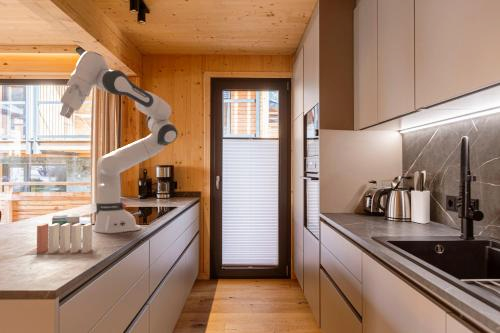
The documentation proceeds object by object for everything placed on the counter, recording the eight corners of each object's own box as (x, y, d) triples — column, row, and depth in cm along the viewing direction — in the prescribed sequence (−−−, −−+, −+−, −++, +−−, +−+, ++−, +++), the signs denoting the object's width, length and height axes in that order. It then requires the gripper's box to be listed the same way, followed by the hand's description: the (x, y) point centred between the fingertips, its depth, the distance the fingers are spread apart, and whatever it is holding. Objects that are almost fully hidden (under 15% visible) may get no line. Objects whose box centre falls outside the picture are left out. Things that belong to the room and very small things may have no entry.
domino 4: (81, 249, 127) (81, 223, 127) (75, 252, 122) (76, 225, 122) (76, 249, 127) (77, 223, 127) (71, 252, 122) (71, 225, 122)
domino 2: (59, 249, 126) (59, 223, 126) (52, 252, 121) (53, 225, 121) (54, 249, 126) (55, 223, 126) (48, 252, 121) (48, 225, 121)
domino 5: (91, 248, 127) (92, 223, 127) (87, 252, 122) (87, 225, 122) (87, 249, 127) (87, 223, 127) (82, 252, 122) (82, 225, 122)
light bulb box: (51, 242, 141) (51, 217, 141) (52, 239, 147) (52, 215, 147) (79, 240, 146) (79, 216, 146) (79, 237, 152) (79, 214, 152)
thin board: (101, 249, 130) (101, 247, 130) (92, 256, 120) (92, 254, 120) (36, 250, 127) (36, 248, 127) (21, 257, 117) (22, 255, 117)
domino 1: (48, 249, 125) (48, 223, 125) (41, 253, 120) (41, 225, 120) (43, 249, 125) (44, 223, 125) (36, 253, 120) (37, 225, 120)
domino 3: (70, 249, 126) (70, 223, 126) (64, 252, 121) (64, 225, 121) (65, 249, 126) (66, 223, 126) (59, 252, 121) (60, 225, 121)
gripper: (82, 86, 128) (67, 117, 127) (90, 94, 147) (76, 122, 146) (66, 78, 126) (50, 110, 125) (75, 87, 145) (62, 115, 144)
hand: (64, 116), depth 135 cm, fingers open, 8 cm apart
